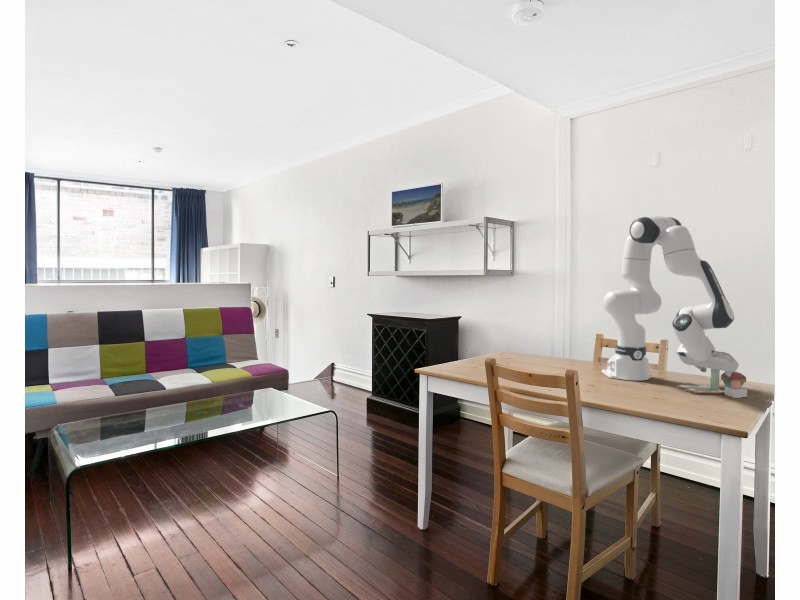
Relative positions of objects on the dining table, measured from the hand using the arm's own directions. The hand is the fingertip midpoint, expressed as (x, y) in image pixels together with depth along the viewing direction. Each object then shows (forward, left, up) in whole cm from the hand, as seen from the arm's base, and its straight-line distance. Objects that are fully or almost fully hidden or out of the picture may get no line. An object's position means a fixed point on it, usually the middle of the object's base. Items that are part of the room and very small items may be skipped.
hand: (716, 372), depth 190 cm
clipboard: (-3, -4, -7) cm, 9 cm away
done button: (+7, +3, -6) cm, 10 cm away
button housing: (+7, +3, -7) cm, 11 cm away
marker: (0, -1, -7) cm, 7 cm away
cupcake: (-4, +10, -8) cm, 13 cm away
